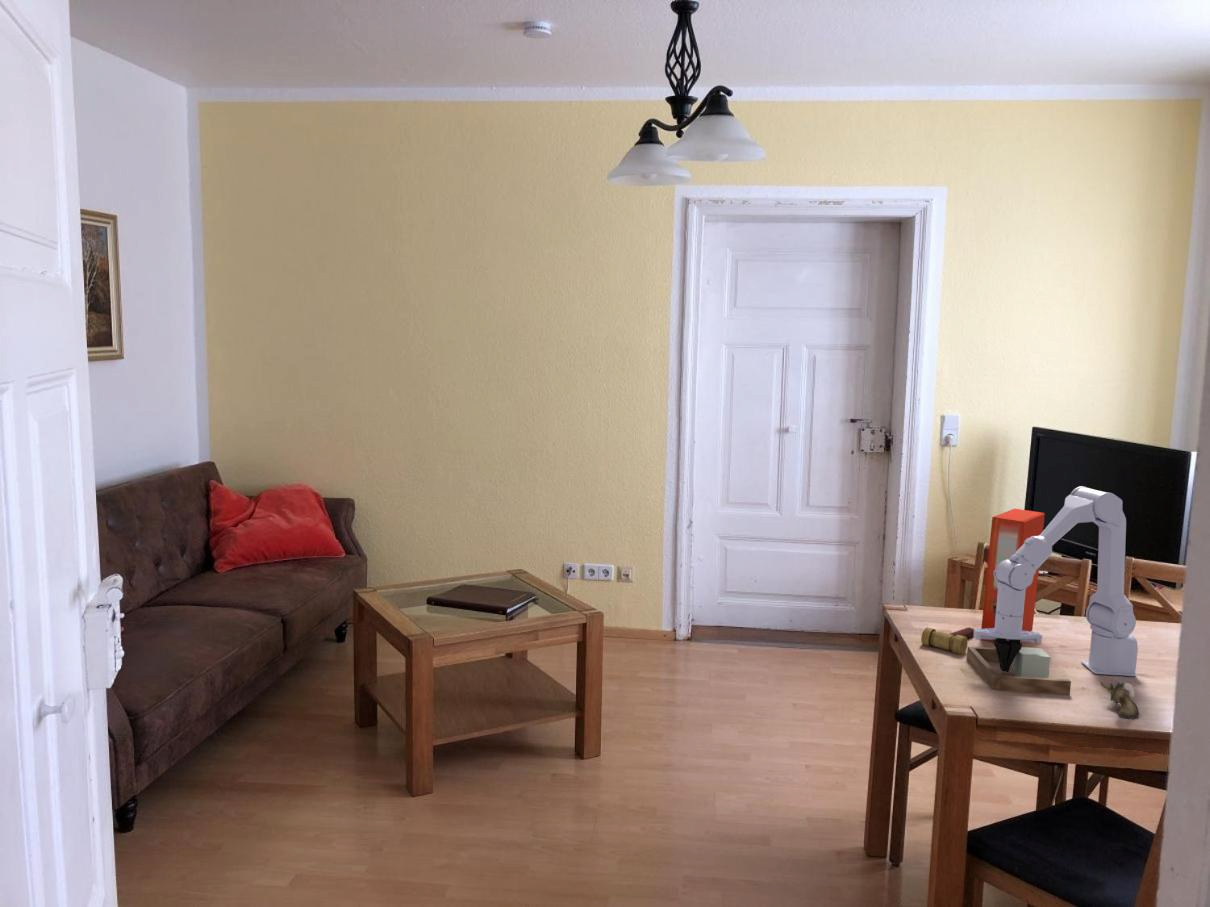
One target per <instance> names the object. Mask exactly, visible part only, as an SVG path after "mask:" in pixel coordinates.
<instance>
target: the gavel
mask: <svg viewBox="0 0 1210 907" xmlns="http://www.w3.org/2000/svg"><path fill="white" fill-rule="evenodd" d="M974 629H975V628H972V627H965V628H963V629H960V630H956V631H954V632H950V633H946V632H942V631H940V630H939V631H936V629H935V628H930V627H927V626H926V627H925V628H924V629H923V631H922V633H921V638H920V639H921V640H920V641H921V645H922V646H926V647H929V646H930V647H931V646H933V647H934V648H938V649H941V650H946V651H948V652H952V653H954V654H957V655H964V654H965V653H967V648H968V645H969V643H968V639H970V638H973V636H974Z"/></svg>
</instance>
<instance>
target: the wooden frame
mask: <svg viewBox="0 0 1210 907" xmlns="http://www.w3.org/2000/svg"><path fill="white" fill-rule="evenodd" d="M966 660H967V661H968V662H969V663H970V664H971V665H972V666H973V667H974V669H975V670H976V671H977V673H978V674H979V675H980V676H981V677H982V678H983V679H984V681H985V682H986V683H987V684H988V685H989V687H991V689H992V690H994V691H1006V692H1007V691H1009V692H1023V693H1038V694H1039V693H1040V694H1055V695H1056V694H1057V695H1070V694H1071V686H1072V681H1071V679H1069V678H1052V677H1048V678H1039V677H1022V676H1016V675H1004V674H1003V675H1001V674H998V673H997V672H996V670H995V669H993V667H992V666H991V665H990V664H989V663H988V662H993V663H999V658H998V654H997V651H996V648H995V647H985V646H968V645H967V649H966ZM1012 663H1013V662H1012Z"/></svg>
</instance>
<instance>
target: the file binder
mask: <svg viewBox="0 0 1210 907" xmlns="http://www.w3.org/2000/svg"><path fill="white" fill-rule="evenodd" d="M1045 516H1046V514H1045V512H1039V511H1033V510H1029V509H1028V510H1027V509H1026V510H1025V509H1021V508H1012V509H1010V510H1007V511H1004V512H1002V513H1000V514H997V515H994V516H992V517H991V528H990V536H989V537H990V538H989V545H988V546H989V547H988V556H987V567H986V579H985V589H984V596H983V597H984V598H983V605H982V606H983V607H982V616H981V617H982V618H981V628H980V629H989V628H995V619H996V607H997V596H998V588H997V581H996V579H995V577H994V571H995V570H996V568H997V566H998V564H999V563H1001V562H1002V561H1004V560H1005V561H1006V560H1009V559H1010V557H1011V556H1012V555H1014V554H1015V553H1016V551H1017V550H1018V549H1019V548H1020V547H1021V546H1022V545H1023V544H1024V541H1025V540H1026V539H1027V538H1030V537H1032V536H1039V535H1040V534H1041V533H1042V532H1043V531H1044V524H1045ZM1039 571H1040V567H1039V568H1038V569H1037V570H1036V572H1035V574H1034V576H1033V581H1032V583H1031V585H1030V586H1028V587H1027V588H1026V591H1025V601H1024V612H1023V623H1022V631H1029V632H1033V627H1034V618H1035V608H1036V601H1037V600H1036V598H1037V590H1038V589H1037V588H1038V581H1039ZM987 640H988V641H987ZM983 641H987V642H991V643H993V640H992V639H983Z"/></svg>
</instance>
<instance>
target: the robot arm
mask: <svg viewBox="0 0 1210 907" xmlns="http://www.w3.org/2000/svg"><path fill="white" fill-rule="evenodd" d="M1081 523H1083V524H1084V523H1093V524H1095V525H1096V526H1098V548H1097V549H1098V550H1097V551H1098V552H1097V553H1098V554H1097V556H1098V557H1097V586H1096V588H1097V590H1096V592H1094V593H1093V594H1092V595H1090V597H1089V604H1088V606H1087V608H1086V610H1085V611H1086V612H1085V619H1086V620H1087V621H1086V622H1088V624H1089V625H1090V626H1089V628H1090V629H1091V635H1090V643H1089V644H1090V645H1089V654H1088V660H1081V664H1083V666H1085V667H1086V668H1088V670H1090V671H1091V672H1092V673H1093V674H1096V675H1107V676H1109V675H1111V676H1126V677H1127V676H1128V677H1137V676H1138V674H1137V673H1136V672H1137V671H1136V670H1137V662H1138V660H1137V659H1138V651H1139V648H1138V646H1139V644H1138V641H1137V639H1136V637H1135V635H1133V634H1132V633H1133V632H1134V630H1135V628H1136V625H1137V619H1136V616H1135V615H1134V614H1135V613H1134V609H1133V608H1134V605H1133V604H1132V602H1131V601H1130V600H1129V598H1128V597H1127V596H1126V595H1125V572H1126V571H1125V568H1126V566H1125V565H1126V538H1127V537H1126V536H1127V518H1126V515H1125V513H1124V511H1123V500H1122V498H1120V497H1119V496H1117V495H1115V493H1112V492H1108V491H1107V492H1106V491H1102V490H1097V489H1093V488H1090V487H1087V486H1084V485H1083V486H1082V485H1081V486H1078V487H1076V488H1074V489H1073V490H1072V491H1071V492H1070V494H1069V495H1067V496H1066V497H1065V499H1064V505H1063V507H1062V508H1061V509H1060V510H1059V511H1058V512H1057V514H1056V515H1055V516H1054V517H1053V519H1052V520H1051V521H1050V522H1049V523H1048V525H1047V526H1046V527H1045V529H1044V528H1043V532H1042V533H1041V534H1040V535H1039V536H1032V537H1030V538H1027V539H1026V540H1025V541H1024V544H1023V545H1022V546H1021V547H1020V548H1019V549H1018V550H1017V551H1016V553H1015V554H1014V555H1012V556H1011V557H1010V559H1009V560H1006V561H1005V560H1004V561H1002V562H1001V563H999V564H998V566H997V568H996V570H995V571H994V577H995V579H996V581H997V588H998V596H997V607H996V619H995V628H989V629H981V628H973V629H974V636H972V638H974V639H975V640H976V641H977V640H978V641H979V640H982V639H992V640H993V642H992V643H993V644H994V648H996V651H997V654H998V658H999V662H998V663H999V670H1000V671H1001V672H1002V673H1009V672H1010V669H1011V668H1012V662H1013V660H1014V658H1015V656H1016V655H1017V653H1018V652H1019V651H1020V650H1021V648H1022V647H1023V644H1022V643H1021V642H1026V643H1027V642H1031V643H1036V644H1042V641H1043V634H1041V633H1040V632H1035V631H1031V632H1029V631H1022V623H1023V612H1024V601H1025V591H1026V588H1027V587H1028V586H1030V585H1031V583H1032V581H1033V576H1034V574H1035V572H1036V570H1037V569H1038V568H1039V569H1040V567H1041V566H1042V565H1043V563H1045V562H1046V560H1047V559H1049V557H1050V556H1051V555H1052V554H1053V546H1054V545H1055V544H1056V543H1058V541H1059V540H1060V539H1061V538H1062V537H1064V536H1065V535H1066V534H1067V533H1068V532H1070V531H1071V529H1072V528H1074V527H1075V526H1076V525H1077V524H1081Z"/></svg>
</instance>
